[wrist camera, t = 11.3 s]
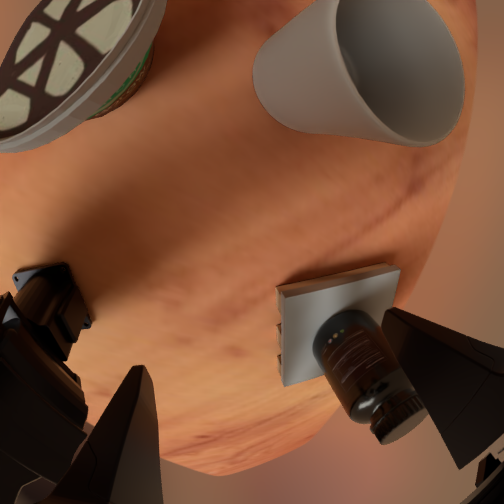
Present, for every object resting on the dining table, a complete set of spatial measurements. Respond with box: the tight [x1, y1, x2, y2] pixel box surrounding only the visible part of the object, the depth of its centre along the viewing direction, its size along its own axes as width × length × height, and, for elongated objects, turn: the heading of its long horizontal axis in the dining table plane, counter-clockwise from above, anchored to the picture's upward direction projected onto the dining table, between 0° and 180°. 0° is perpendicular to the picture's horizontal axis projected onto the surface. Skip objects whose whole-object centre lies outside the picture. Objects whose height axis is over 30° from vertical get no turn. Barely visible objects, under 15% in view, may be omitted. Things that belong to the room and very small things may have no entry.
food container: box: [0, 0, 167, 153], centre depth 10 cm, size 12×6×10 cm, turn 143°
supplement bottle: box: [312, 309, 429, 445], centre depth 20 cm, size 7×7×12 cm
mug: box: [253, 0, 465, 147], centre depth 12 cm, size 12×8×11 cm
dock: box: [276, 262, 401, 387], centre depth 26 cm, size 12×12×2 cm
